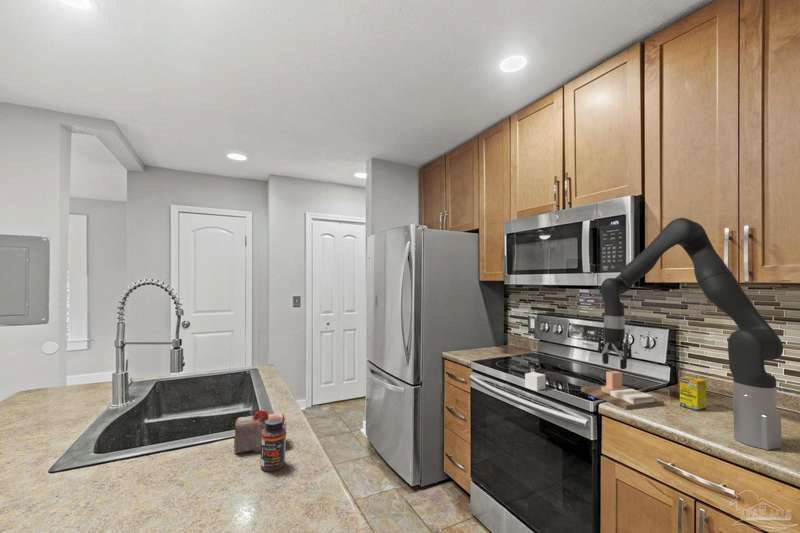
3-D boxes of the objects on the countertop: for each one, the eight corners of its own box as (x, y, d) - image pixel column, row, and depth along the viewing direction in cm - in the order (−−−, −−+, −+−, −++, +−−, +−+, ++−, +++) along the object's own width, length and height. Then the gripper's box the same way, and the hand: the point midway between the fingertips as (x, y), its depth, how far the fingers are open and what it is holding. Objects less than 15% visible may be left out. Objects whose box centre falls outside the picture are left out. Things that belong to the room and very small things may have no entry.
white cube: (537, 391, 155) (537, 376, 155) (525, 387, 160) (525, 373, 160) (545, 388, 159) (545, 374, 159) (533, 385, 164) (533, 371, 164)
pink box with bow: (284, 437, 109) (284, 403, 110) (287, 448, 102) (287, 413, 102) (234, 445, 104) (234, 410, 104) (233, 458, 97) (233, 420, 97)
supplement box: (679, 406, 138) (679, 377, 138) (688, 404, 140) (688, 375, 141) (697, 411, 132) (697, 381, 133) (706, 409, 135) (706, 379, 135)
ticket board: (663, 405, 139) (663, 395, 139) (626, 409, 134) (626, 399, 134) (615, 387, 160) (614, 379, 160) (581, 391, 155) (581, 382, 155)
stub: (629, 392, 149) (629, 373, 149) (609, 394, 146) (609, 374, 146) (620, 389, 153) (620, 370, 153) (601, 391, 150) (601, 372, 150)
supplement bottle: (261, 474, 89) (261, 427, 89) (259, 462, 94) (260, 418, 94) (286, 469, 91) (287, 423, 91) (284, 458, 97) (284, 415, 97)
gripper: (636, 329, 145) (636, 370, 144) (607, 323, 158) (607, 361, 158) (621, 329, 143) (621, 371, 142) (593, 324, 156) (593, 362, 156)
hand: (614, 366), depth 150 cm, fingers open, 8 cm apart
